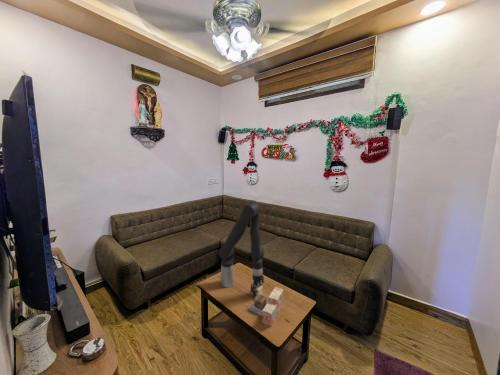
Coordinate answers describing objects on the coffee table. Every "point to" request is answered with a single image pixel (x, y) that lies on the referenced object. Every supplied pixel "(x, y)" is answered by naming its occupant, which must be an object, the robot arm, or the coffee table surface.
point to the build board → (256, 309)
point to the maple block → (259, 290)
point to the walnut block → (260, 302)
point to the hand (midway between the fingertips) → (257, 292)
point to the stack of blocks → (273, 306)
